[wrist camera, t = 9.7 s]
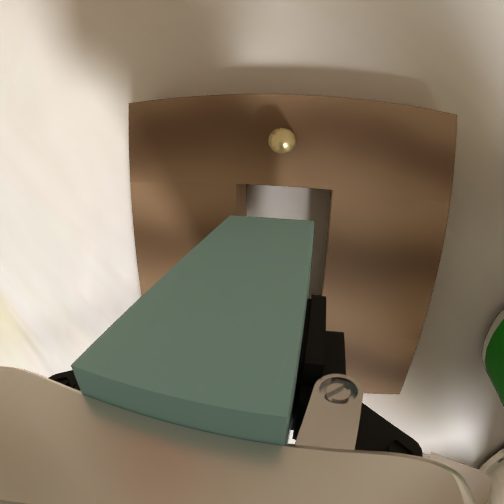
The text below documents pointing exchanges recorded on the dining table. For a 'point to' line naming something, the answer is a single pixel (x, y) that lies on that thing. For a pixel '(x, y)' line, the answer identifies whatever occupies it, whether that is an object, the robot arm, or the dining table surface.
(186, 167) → the walnut board
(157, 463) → the robot arm
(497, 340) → the soda can
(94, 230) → the dining table surface
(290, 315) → the teal block
